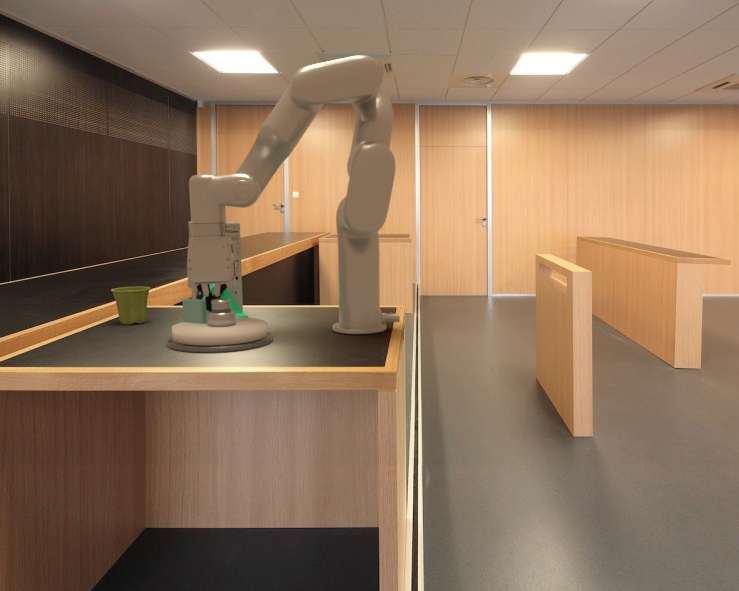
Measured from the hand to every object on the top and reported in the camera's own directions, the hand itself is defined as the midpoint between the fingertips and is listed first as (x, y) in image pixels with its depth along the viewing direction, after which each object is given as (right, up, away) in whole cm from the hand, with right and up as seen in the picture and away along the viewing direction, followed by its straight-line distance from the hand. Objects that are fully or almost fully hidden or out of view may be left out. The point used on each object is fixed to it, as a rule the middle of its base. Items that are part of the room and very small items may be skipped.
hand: (213, 313), depth 149 cm
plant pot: (-25, -3, +19) cm, 32 cm away
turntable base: (+3, -6, -6) cm, 9 cm away
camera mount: (-1, -4, +14) cm, 14 cm away
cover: (+3, -2, -6) cm, 8 cm away
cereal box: (-6, -2, +29) cm, 29 cm away
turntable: (+3, -5, -6) cm, 8 cm away
